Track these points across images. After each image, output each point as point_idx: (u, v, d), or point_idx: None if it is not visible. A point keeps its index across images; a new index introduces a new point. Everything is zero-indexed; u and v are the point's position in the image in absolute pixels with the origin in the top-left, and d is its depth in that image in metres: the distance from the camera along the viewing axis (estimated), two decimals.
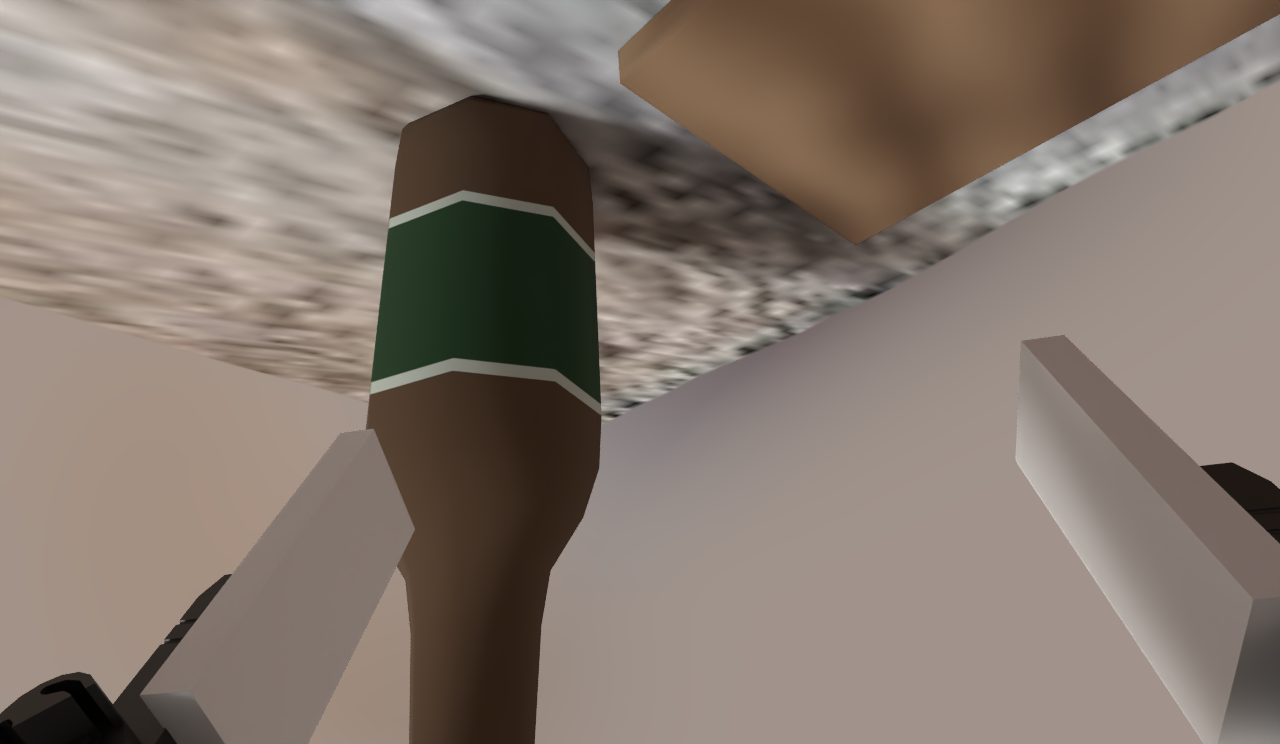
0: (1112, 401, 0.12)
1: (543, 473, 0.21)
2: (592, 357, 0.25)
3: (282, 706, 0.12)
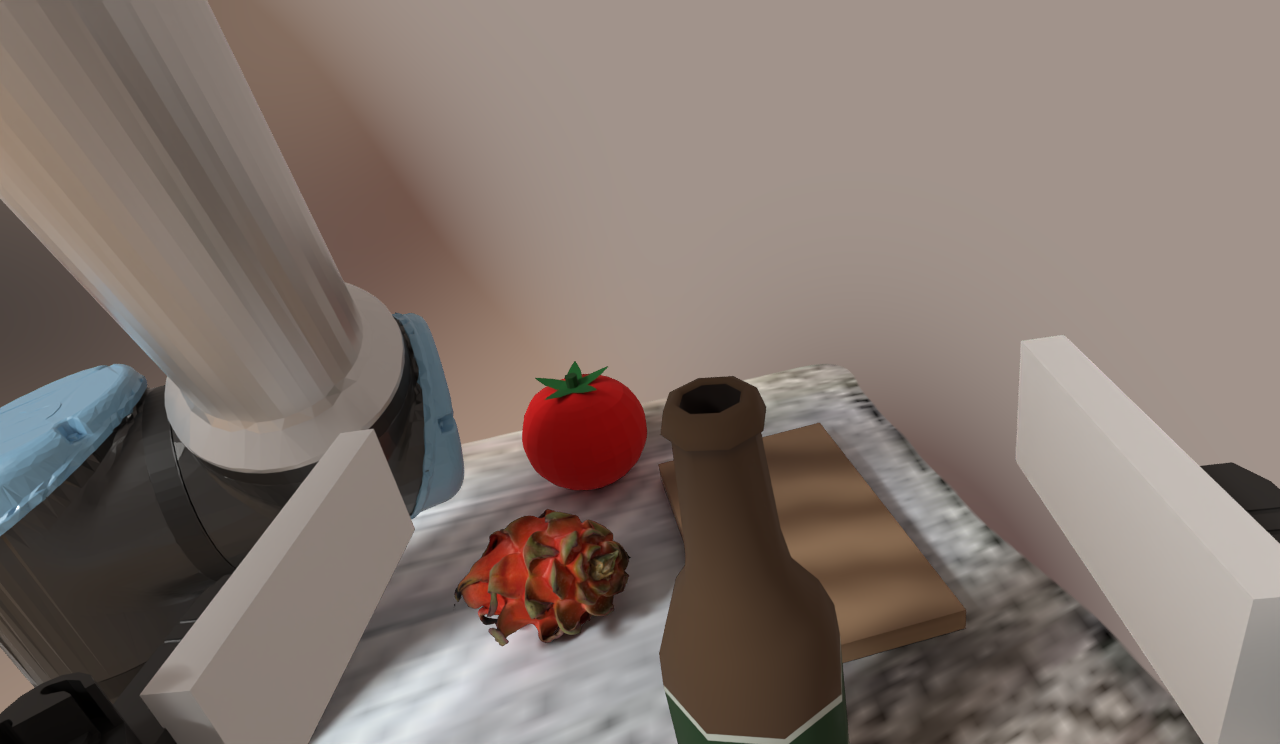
0: (1112, 401, 0.12)
1: None
2: None
3: (282, 706, 0.12)
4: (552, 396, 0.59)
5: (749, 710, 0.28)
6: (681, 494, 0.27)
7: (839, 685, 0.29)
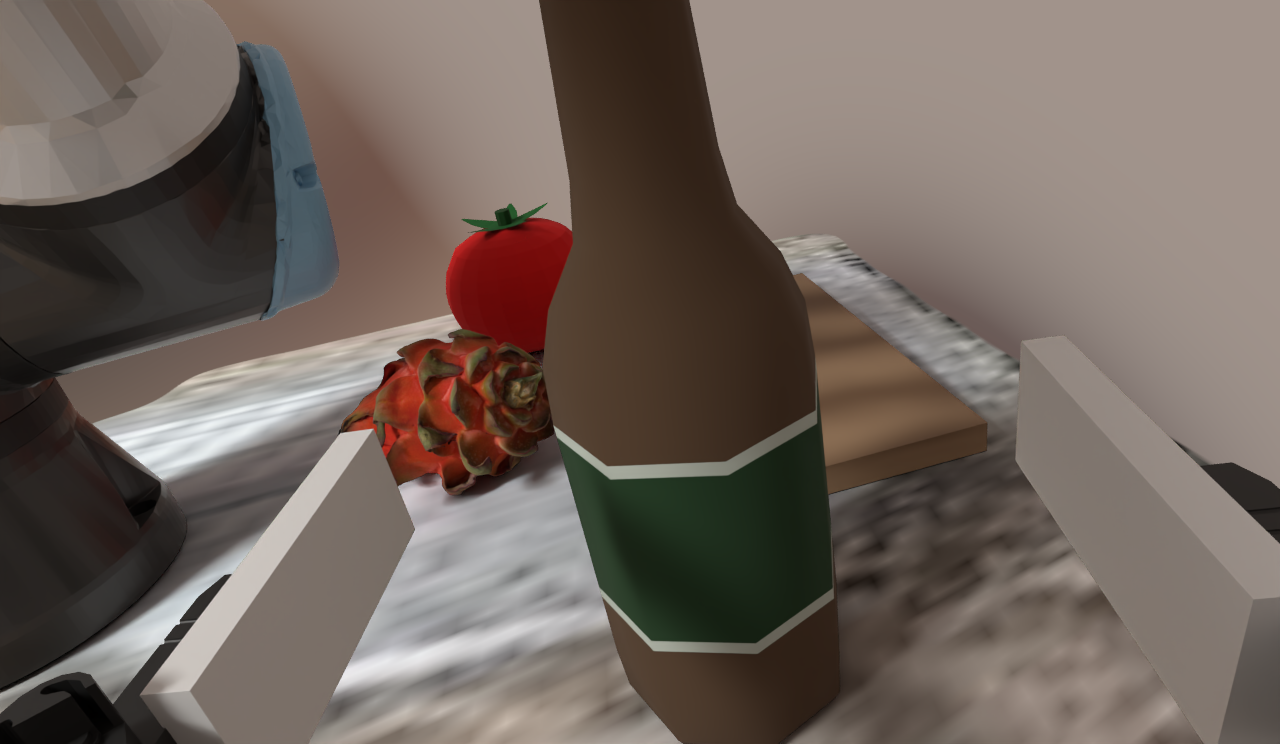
0: (1112, 401, 0.12)
1: None
2: None
3: (282, 706, 0.12)
4: (478, 231, 0.49)
5: (669, 412, 0.18)
6: (552, 50, 0.17)
7: (812, 394, 0.19)
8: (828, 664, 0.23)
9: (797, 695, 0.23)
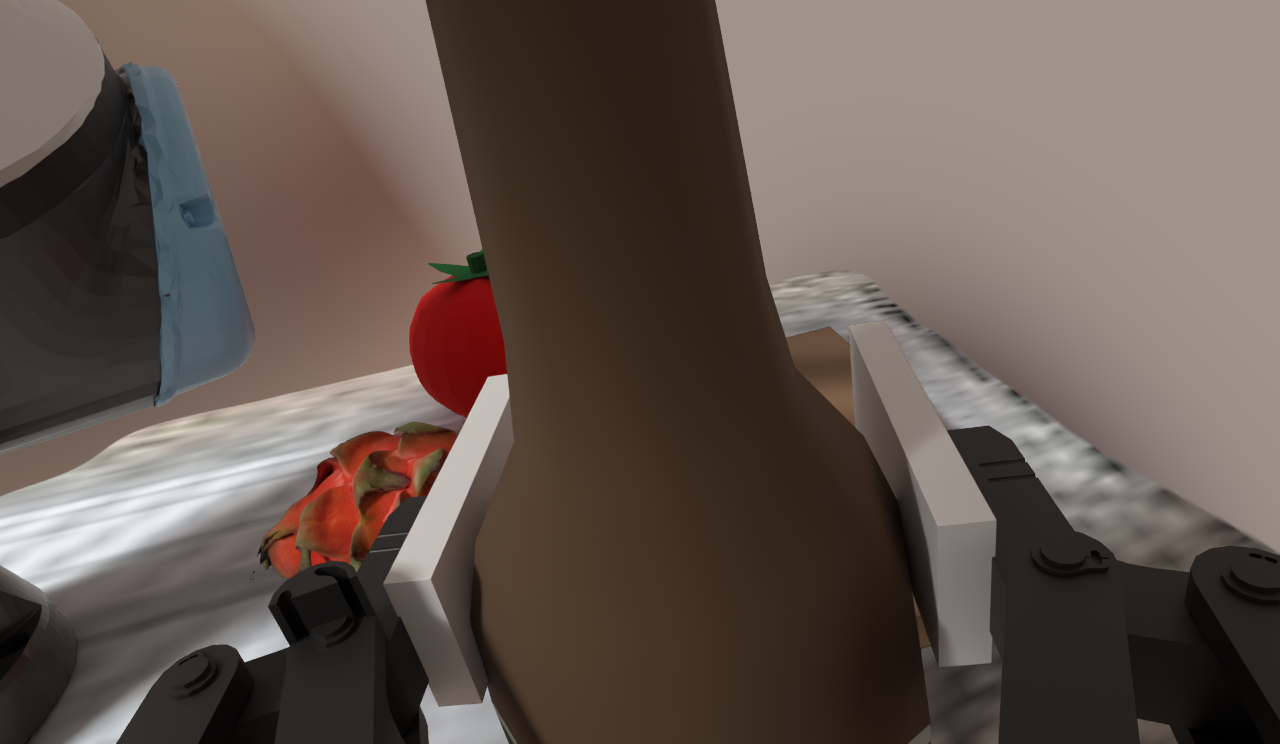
0: (899, 375, 0.14)
1: None
2: None
3: None
4: (445, 281, 0.41)
5: None
6: (459, 120, 0.09)
7: (925, 700, 0.11)
8: None
9: None
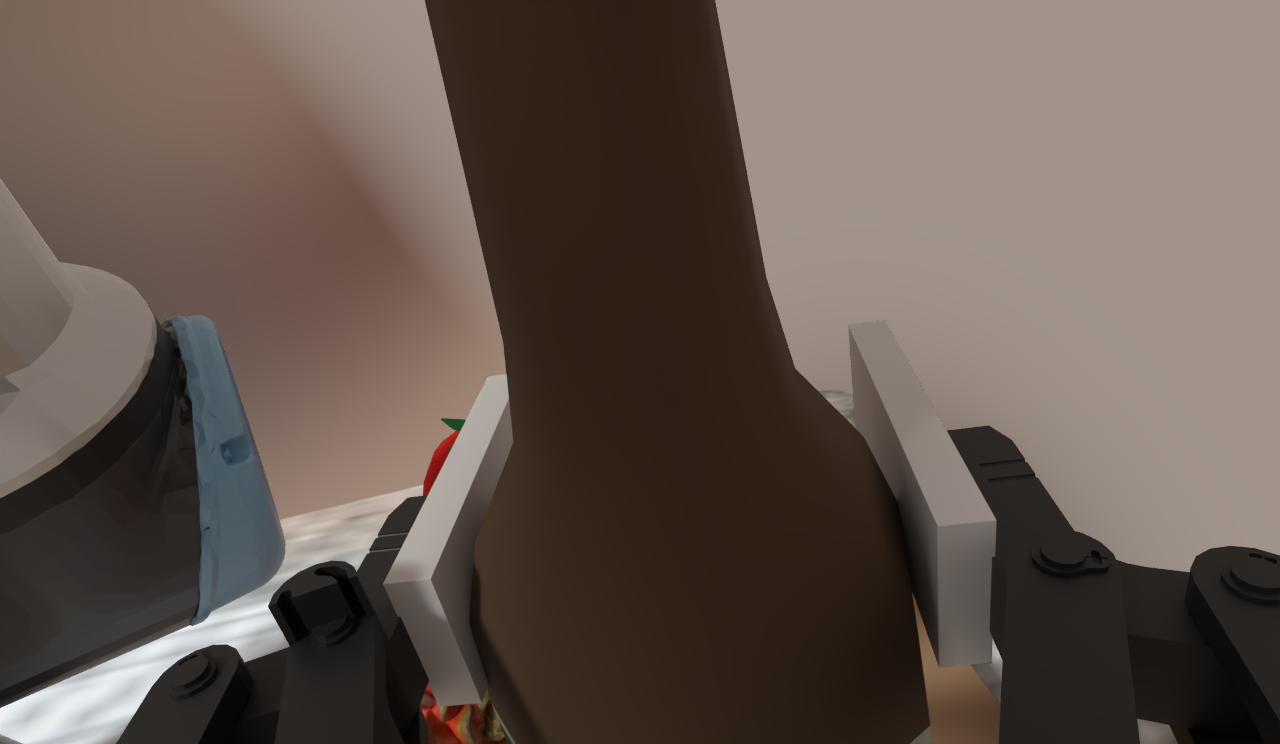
0: (899, 375, 0.14)
1: None
2: None
3: None
4: None
5: None
6: (458, 122, 0.09)
7: (925, 702, 0.11)
8: None
9: None
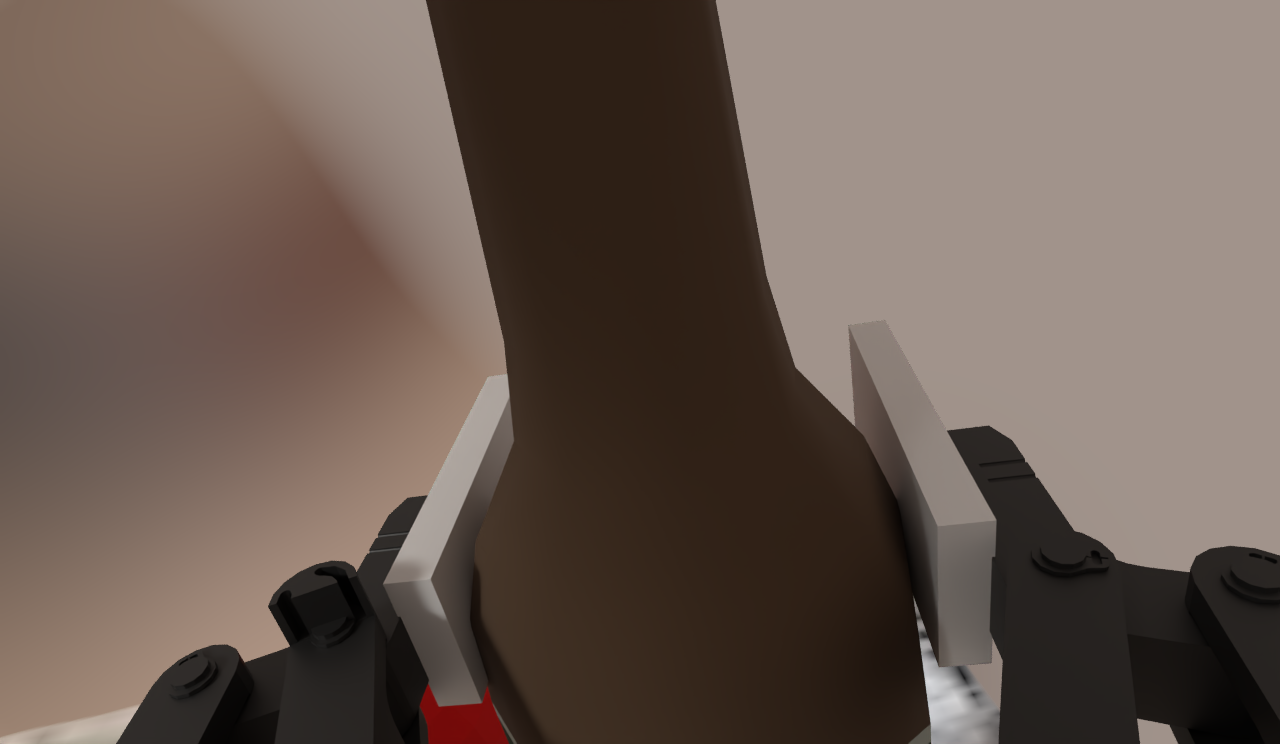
0: (899, 375, 0.14)
1: None
2: None
3: None
4: None
5: None
6: (460, 120, 0.09)
7: (925, 700, 0.11)
8: None
9: None
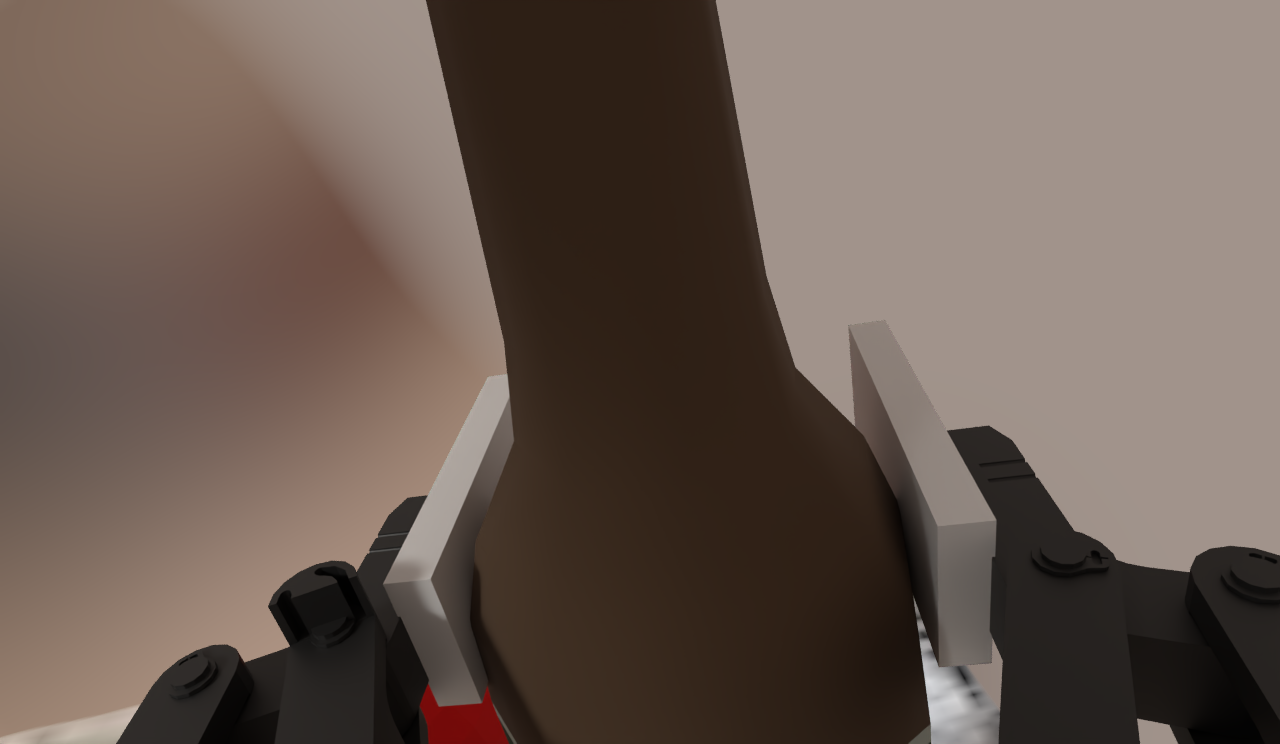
0: (899, 375, 0.14)
1: None
2: None
3: None
4: None
5: None
6: (459, 121, 0.09)
7: (925, 700, 0.11)
8: None
9: None
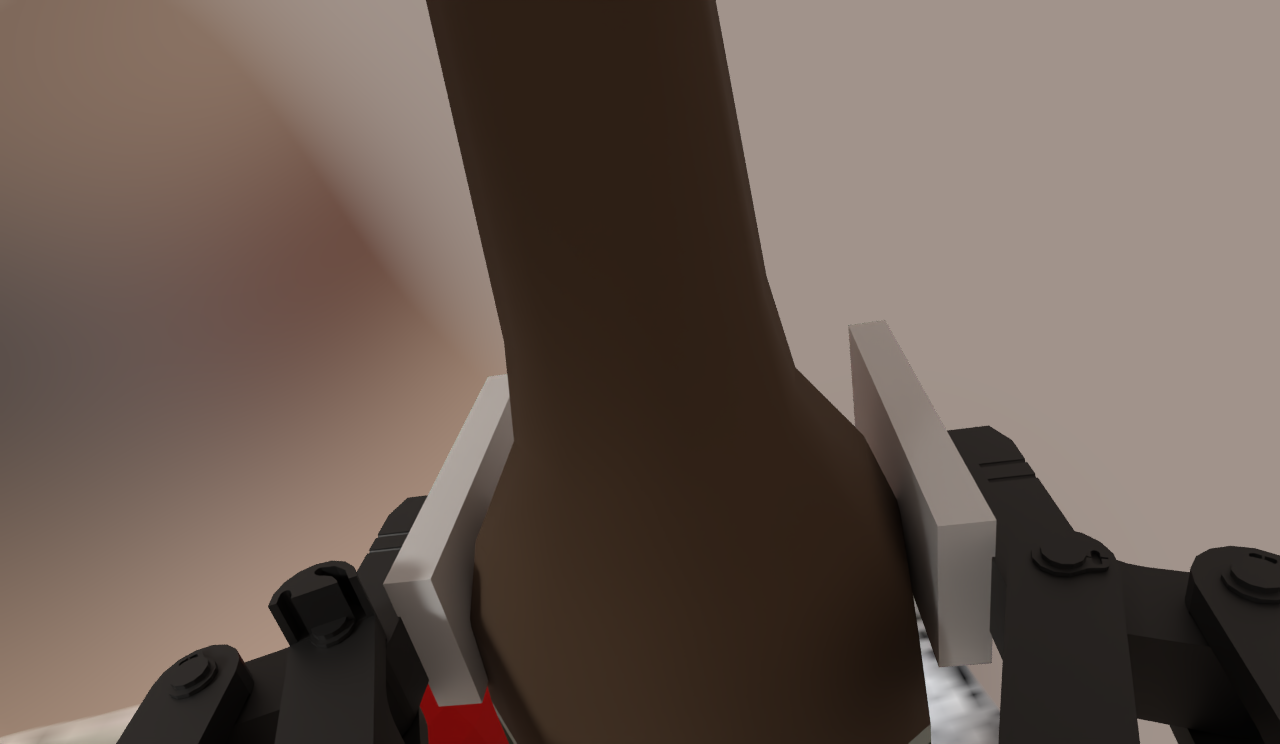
0: (899, 375, 0.14)
1: None
2: None
3: None
4: None
5: None
6: (459, 121, 0.09)
7: (925, 700, 0.11)
8: None
9: None
